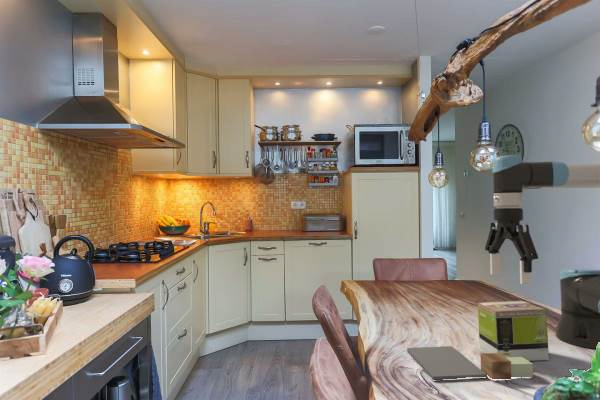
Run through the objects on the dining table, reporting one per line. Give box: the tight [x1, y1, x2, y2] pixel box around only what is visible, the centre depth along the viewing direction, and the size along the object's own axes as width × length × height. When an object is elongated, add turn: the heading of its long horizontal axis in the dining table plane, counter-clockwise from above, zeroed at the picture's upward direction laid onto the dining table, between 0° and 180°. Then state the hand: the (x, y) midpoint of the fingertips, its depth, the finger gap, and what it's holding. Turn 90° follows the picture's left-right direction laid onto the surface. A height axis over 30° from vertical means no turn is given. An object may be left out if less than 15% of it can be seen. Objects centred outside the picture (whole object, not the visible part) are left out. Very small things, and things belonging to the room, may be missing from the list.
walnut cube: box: [480, 352, 512, 380], centre depth 90 cm, size 5×5×5 cm
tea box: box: [477, 300, 550, 362], centre depth 103 cm, size 15×10×15 cm, turn 92°
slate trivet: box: [406, 345, 487, 381], centre depth 98 cm, size 14×18×1 cm
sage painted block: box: [505, 357, 534, 378], centre depth 91 cm, size 6×4×4 cm, turn 91°
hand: (509, 278), depth 103 cm, fingers open, 13 cm apart
